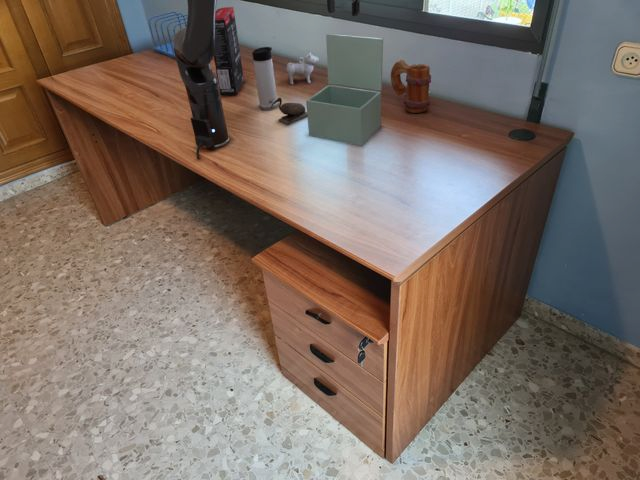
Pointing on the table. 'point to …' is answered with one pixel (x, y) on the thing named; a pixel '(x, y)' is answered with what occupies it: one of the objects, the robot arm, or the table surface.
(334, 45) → the lid
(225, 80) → the graphics card box
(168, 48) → the file sorter
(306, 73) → the dog figurine
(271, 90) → the travel mug
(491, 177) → the table surface
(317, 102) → the chest
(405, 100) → the mug
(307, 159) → the table surface
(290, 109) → the figurine
